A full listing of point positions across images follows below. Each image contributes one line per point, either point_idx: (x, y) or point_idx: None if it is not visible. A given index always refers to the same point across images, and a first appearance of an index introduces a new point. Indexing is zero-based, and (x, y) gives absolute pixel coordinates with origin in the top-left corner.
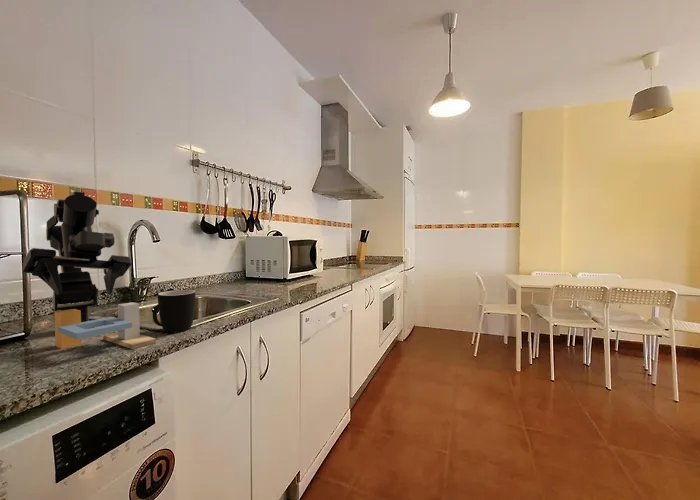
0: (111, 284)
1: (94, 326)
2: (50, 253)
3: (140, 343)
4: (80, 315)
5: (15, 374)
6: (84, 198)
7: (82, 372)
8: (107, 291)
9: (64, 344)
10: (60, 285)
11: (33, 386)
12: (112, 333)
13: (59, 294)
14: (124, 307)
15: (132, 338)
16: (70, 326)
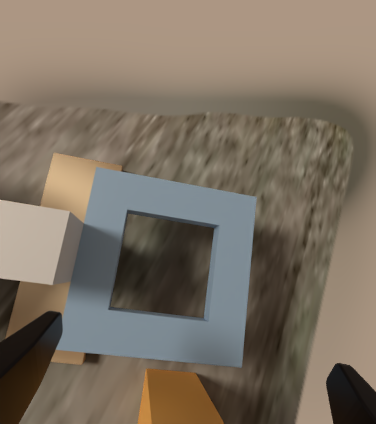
0: (5, 358)
1: (144, 311)
2: None
3: (100, 162)
4: (151, 417)
5: (319, 252)
6: None
7: (256, 135)
8: (46, 364)
9: (190, 377)
10: (369, 406)
11: (321, 152)
12: (53, 359)
13: (329, 376)
14: (70, 212)
15: None
16: (221, 321)
